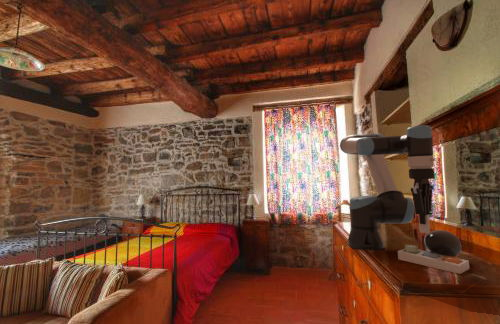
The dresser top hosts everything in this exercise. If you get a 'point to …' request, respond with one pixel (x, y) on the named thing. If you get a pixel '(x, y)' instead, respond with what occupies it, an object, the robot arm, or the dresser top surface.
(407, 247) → the green button
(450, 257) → the orange button
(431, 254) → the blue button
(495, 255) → the dresser top surface
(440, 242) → the dark glossy ovoid
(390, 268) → the dresser top surface
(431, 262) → the button panel
